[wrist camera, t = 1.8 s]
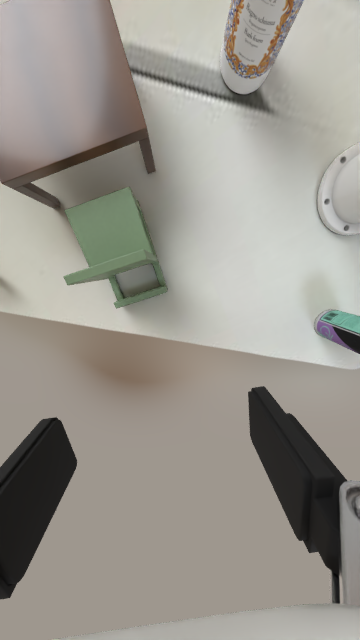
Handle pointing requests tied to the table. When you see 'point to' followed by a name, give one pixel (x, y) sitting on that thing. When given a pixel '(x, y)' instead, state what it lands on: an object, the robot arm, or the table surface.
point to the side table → (63, 91)
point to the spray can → (339, 328)
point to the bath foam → (254, 40)
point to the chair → (113, 242)
